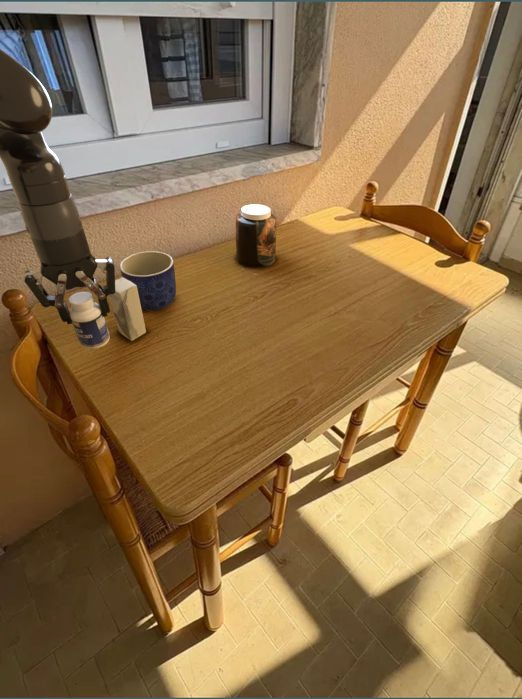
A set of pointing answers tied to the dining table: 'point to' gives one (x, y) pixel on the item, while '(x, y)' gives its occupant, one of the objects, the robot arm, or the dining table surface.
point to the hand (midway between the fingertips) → (87, 317)
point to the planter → (151, 278)
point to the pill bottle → (88, 321)
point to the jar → (255, 236)
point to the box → (127, 309)
